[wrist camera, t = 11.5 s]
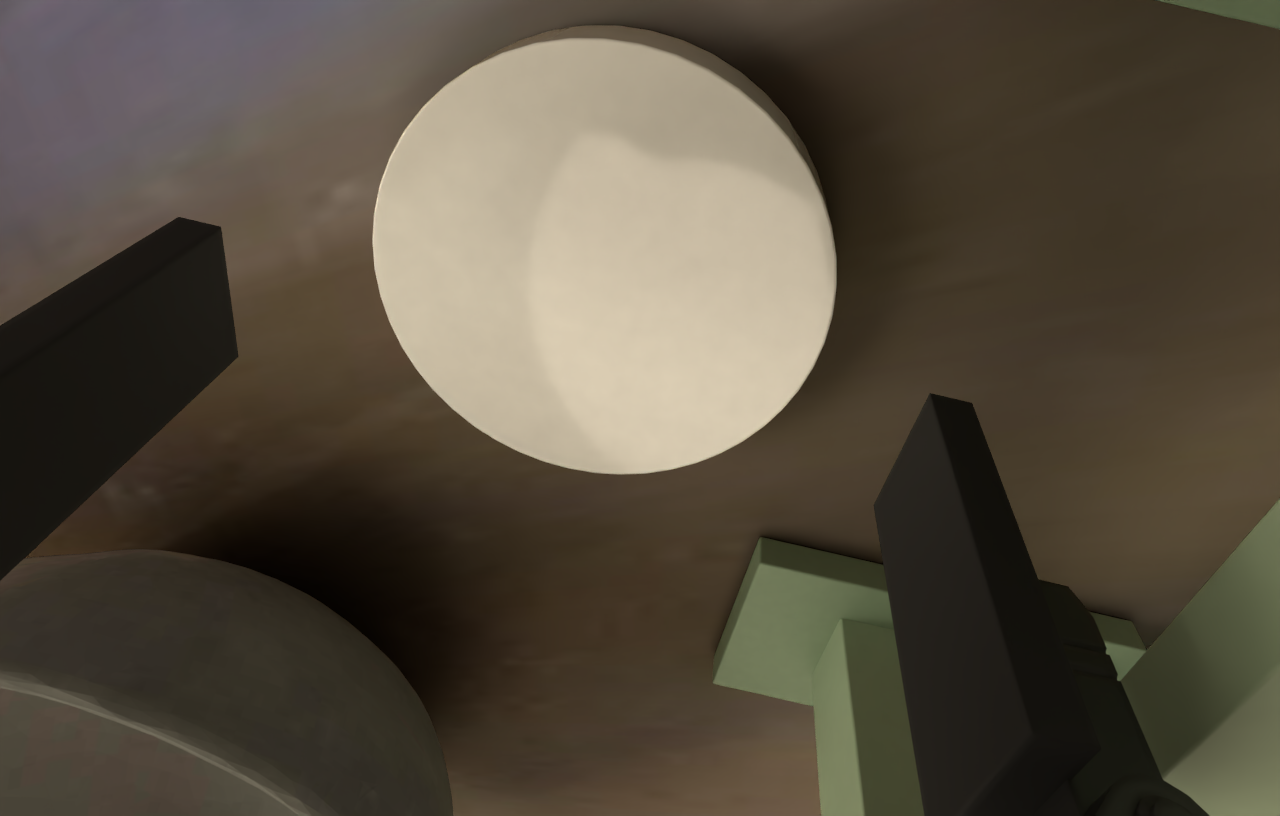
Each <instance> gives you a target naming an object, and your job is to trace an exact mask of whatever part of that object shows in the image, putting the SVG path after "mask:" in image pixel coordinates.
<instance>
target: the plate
mask: <svg viewBox="0 0 1280 816" xmlns="http://www.w3.org/2000/svg"><path fill="white" fill-rule="evenodd" d="M372 242H373V254H374V266H375V273H376V277H377V282H378V287H379V291H380V296H381V299H382V302H383V305H384V308H385V310H386V313H387V316H388V319H389V322H390V324H391V326H392V328H393V330H394V332H395V334H396V336H397V338H398V340H399V342H400V344H401V346H402V348H403V349H404V351H405V352H406V354H407V356H408V357H409V359H410V360H411V362H412V363H413V365H414V366H415V368H416V369H417V371H418V372H419V373H420V374H421V376H422V377H423V378H424V379H425V380H426V382H427V383H428V384H429V385H430V387H431V388H432V389H433V390H434V391H435V392H436V393H437V394H438V395H439V396H440V397H441V398H442V399H443V400H444V401H445V402H446V403H447V404H448V405H449V406H450V407H451V408H452V409H453V410H454V411H456V412H457V413H458V414H459V415H461V416H462V417H463V418H464V419H466V420H467V421H468V422H469V423H471V424H472V425H473V426H475V427H476V428H478V429H479V430H481V431H482V432H484V433H485V434H487V435H489V436H490V437H492V438H493V439H495V440H497V441H499V442H500V443H502V444H504V445H506V446H508V447H510V448H512V449H514V450H516V451H518V452H520V453H523V454H526V455H528V456H531V457H533V458H536V459H538V460H541V461H544V462H547V463H551V464H554V465H558V466H562V467H565V468H569V469H575V470H581V471H587V472H593V473H605V474H646V473H653V472H659V471H666V470H672V469H676V468H680V467H684V466H687V465H691V464H695V463H698V462H700V461H703V460H706V459H708V458H711V457H713V456H716V455H718V454H721V453H723V452H724V451H726V450H728V449H730V448H732V447H734V446H736V445H738V444H739V443H741V442H743V441H744V440H746V439H747V438H749V437H750V436H752V435H753V434H754V433H756V432H757V431H759V430H760V429H761V428H763V427H764V426H765V425H766V424H767V423H768V422H770V421H771V420H772V419H773V418H774V417H775V416H776V415H777V414H778V413H779V412H781V411H782V410H783V409H784V407H785V406H786V405H787V404H788V403H789V401H790V400H791V399H792V398H793V397H794V395H795V394H796V393H797V392H798V391H799V389H800V388H801V386H802V385H803V383H804V382H805V380H806V379H807V377H808V375H809V374H810V372H811V371H812V369H813V367H814V366H815V363H816V361H817V359H818V357H819V355H820V352H821V350H822V348H823V346H824V343H825V341H826V338H827V334H828V331H829V327H830V324H831V320H832V317H833V312H834V304H835V297H836V290H837V256H836V249H835V243H834V236H833V230H832V224H831V220H830V215H829V211H828V206H827V202H826V198H825V195H824V192H823V188H822V185H821V182H820V179H819V175H818V172H817V170H816V168H815V166H814V164H813V162H812V159H811V157H810V155H809V153H808V151H807V149H806V147H805V144H804V143H803V141H802V140H801V138H800V137H799V135H798V134H797V132H796V131H795V129H794V128H793V126H792V125H791V123H790V122H789V120H788V118H787V117H786V116H785V115H784V114H783V113H782V111H781V110H780V109H779V108H778V107H777V106H776V105H775V104H774V102H773V101H772V100H771V99H770V98H769V97H768V96H767V94H766V93H765V92H763V91H762V90H761V89H760V88H759V87H758V86H756V85H755V84H754V83H753V82H752V81H751V80H749V79H748V78H747V77H746V76H745V75H744V74H743V73H741V72H740V71H738V70H737V69H735V68H734V67H732V66H731V65H729V64H728V63H726V62H724V61H723V60H721V59H720V58H718V57H717V56H715V55H714V54H712V53H709V52H707V51H705V50H703V49H701V48H699V47H696V46H694V45H692V44H690V43H688V42H686V41H683V40H681V39H677V38H674V37H671V36H667V35H664V34H661V33H657V32H654V31H651V30H644V29H638V28H631V27H624V26H617V25H584V26H577V27H570V28H563V29H556V30H551V31H548V32H544V33H541V34H538V35H534V36H531V37H528V38H524V39H522V40H519V41H517V42H515V43H513V44H511V45H509V46H507V47H505V48H503V49H501V50H499V51H496V52H494V53H493V54H491V55H490V56H488V57H487V58H485V59H484V60H482V61H480V62H479V63H477V64H476V65H474V66H473V67H471V68H470V69H468V70H467V71H465V72H464V73H462V74H461V75H460V76H458V77H457V78H455V79H454V80H452V81H451V82H449V83H448V84H446V85H445V86H444V87H443V88H442V89H441V90H440V91H439V92H438V93H437V94H436V95H434V96H433V97H432V98H431V99H430V100H429V101H428V102H427V103H426V104H425V105H424V106H423V107H422V108H421V109H420V111H419V112H418V113H417V115H416V116H415V117H414V119H413V120H412V121H411V122H410V124H409V125H408V126H407V128H406V129H405V130H404V132H403V134H402V135H401V137H400V139H399V141H398V143H397V145H396V146H395V148H394V150H393V152H392V154H391V155H390V158H389V160H388V163H387V166H386V169H385V171H384V174H383V177H382V180H381V182H380V186H379V191H378V196H377V200H376V205H375V210H374V223H373V240H372Z"/></svg>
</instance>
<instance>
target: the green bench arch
mask: <svg viewBox="0 0 1280 816" xmlns="http://www.w3.org/2000/svg"><path fill="white" fill-rule="evenodd" d="M1156 1H1160V2H1165V3H1169V4H1173V5H1178V6H1182V7H1186V8H1190V9H1195V10H1199V11H1203V12H1208V13H1212V14H1216V15H1221V16H1225V17H1229V18H1234V19H1238V20H1242V21H1247V22H1251V23H1255V24H1259V25H1264V26H1268V27H1272V28H1277V29H1280V0H1156ZM1090 614H1091V615H1092V616H1093V617H1094V620H1095V622H1096V624H1097V627H1098V629H1099V631H1100V634H1101V636H1102V638H1103V641H1104V643H1105V645H1106V648H1107V650H1106V654H1107V655H1110V657H1111V659H1112V662H1113V664H1114V666H1115V669H1116V671H1117V673H1118V676H1117V681H1121V683H1122V685H1123V687H1124V690H1125V692H1126V694H1127V697H1128V699H1129V701H1130V704H1131V706H1132V708H1133V711H1134V713H1135V715H1136V718H1137V720H1138V722H1139V725H1140V727H1141V729H1142V732H1143V734H1144V736H1145V739H1146V741H1147V743H1148V746H1149V748H1150V750H1151V753H1152V755H1153V757H1154V760H1155V762H1156V764H1157V767H1158V769H1159V771H1160V774H1161V776H1162V778H1163V780H1164V781H1166V782H1167V783H1169V784H1171V785H1172V786H1174V787H1175V788H1177V789H1179V790H1180V791H1182V792H1184V793H1185V794H1187V795H1188V796H1189V797H1190V798H1192V799H1193V800H1194V801H1195V802H1196V803H1197V804H1198V805H1199V806H1200V807H1201V808H1202V809H1203V810H1204V811H1205V812H1206V813H1208V814H1209V815H1210V816H1280V499H1279V500H1278V501H1277V502H1276V503H1275V504H1274V506H1273V507H1272V508H1271V509H1270V510H1269V511H1268V512H1267V514H1266V515H1265V516H1264V517H1263V518H1262V519H1261V520H1260V522H1259V523H1258V524H1257V525H1256V526H1255V527H1254V528H1253V530H1252V531H1251V532H1250V533H1249V534H1248V535H1247V536H1246V538H1245V539H1244V540H1243V541H1242V542H1241V543H1240V544H1239V546H1238V547H1237V548H1236V549H1235V550H1234V551H1233V552H1232V554H1231V555H1230V556H1229V557H1228V558H1227V559H1226V561H1225V562H1224V563H1223V564H1222V565H1221V566H1220V567H1219V569H1218V570H1217V571H1216V572H1215V573H1214V574H1213V575H1212V577H1211V578H1210V579H1209V580H1208V581H1207V582H1206V583H1205V585H1204V586H1203V587H1202V588H1201V589H1200V590H1199V591H1198V593H1197V594H1196V595H1195V596H1194V597H1193V598H1192V599H1191V601H1190V602H1189V603H1188V604H1187V605H1186V606H1185V607H1184V609H1183V610H1182V611H1181V612H1180V613H1179V614H1178V615H1177V617H1176V618H1175V619H1174V620H1173V621H1172V622H1171V623H1170V625H1169V626H1168V627H1167V628H1166V629H1165V630H1164V631H1163V633H1162V634H1161V635H1160V636H1159V637H1158V638H1157V639H1156V641H1155V642H1154V643H1153V644H1152V645H1151V646H1150V648H1149V649H1148V650H1146V648H1145V646H1144V644H1143V642H1142V640H1141V638H1140V636H1139V634H1138V632H1137V630H1136V628H1135V626H1134V624H1133V623H1132V622H1131V621H1127V620H1123V619H1119V618H1114V617H1110V616H1105V615H1101V614H1097V613H1092V612H1090ZM713 683H714V684H717V685H721V686H726V687H730V688H734V689H739V690H743V691H748V692H752V693H757V694H761V695H765V696H770V697H774V698H779V699H783V700H787V701H792V702H796V703H801V704H805V705H809V706H814V719H815V734H816V748H817V762H818V777H819V791H820V805H821V816H924V810H923V804H922V798H921V792H920V785H919V779H918V773H917V767H916V761H915V755H914V749H913V743H912V737H911V730H910V724H909V718H908V712H907V706H906V700H905V694H904V688H903V681H902V675H901V669H900V663H899V657H898V651H897V645H896V639H895V632H894V626H893V620H892V614H891V608H890V602H889V596H888V590H887V584H886V577H885V571H884V565H882V564H877V563H873V562H869V561H864V560H860V559H855V558H851V557H847V556H842V555H838V554H833V553H829V552H825V551H820V550H816V549H811V548H807V547H803V546H798V545H794V544H790V543H785V542H781V541H776V540H772V539H768V538H763V537H760V538H759V540H758V543H757V545H756V548H755V550H754V553H753V556H752V558H751V561H750V563H749V566H748V569H747V571H746V574H745V577H744V579H743V582H742V584H741V587H740V590H739V592H738V595H737V597H736V600H735V603H734V605H733V608H732V610H731V613H730V616H729V618H728V621H727V624H726V626H725V629H724V631H723V634H722V637H721V639H720V642H719V644H718V647H717V650H716V652H715V655H714V664H713Z"/></svg>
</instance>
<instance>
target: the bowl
mask: <svg viewBox="0 0 1280 816" xmlns="http://www.w3.org/2000/svg"><path fill="white" fill-rule="evenodd" d="M0 816H453V806H452V796H451V790H450V784H449V778H448V773H447V769H446V764H445V760H444V756H443V752H442V749H441V746H440V743H439V740H438V737H437V735H436V732H435V729H434V727H433V724H432V722H431V720H430V717H429V715H428V713H427V711H426V709H425V707H424V705H423V704H422V702H421V700H420V698H419V696H418V695H417V693H416V692H415V691H414V689H413V688H412V686H411V685H410V684H409V682H408V681H407V680H406V678H405V677H404V676H403V674H402V673H401V671H400V670H399V669H398V667H397V666H396V665H395V664H394V663H393V662H392V661H391V660H390V659H389V658H388V657H387V656H386V655H385V654H384V653H383V652H382V651H381V650H380V649H379V648H378V647H377V646H376V645H374V644H373V643H372V642H371V641H370V640H369V639H368V638H367V637H366V636H364V635H363V634H362V633H361V632H360V631H359V630H357V629H356V628H355V627H354V626H353V625H351V624H350V623H349V622H348V621H347V620H345V619H344V618H342V617H341V616H339V615H338V614H337V613H335V612H334V611H332V610H331V609H330V608H328V607H327V606H325V605H324V604H323V603H321V602H320V601H318V600H316V599H314V598H313V597H311V596H309V595H308V594H306V593H304V592H302V591H300V590H298V589H296V588H294V587H292V586H290V585H288V584H286V583H283V582H281V581H279V580H277V579H275V578H272V577H270V576H267V575H264V574H262V573H259V572H256V571H254V570H251V569H249V568H245V567H242V566H238V565H235V564H231V563H228V562H224V561H220V560H216V559H209V558H204V557H199V556H195V555H190V554H184V553H177V552H171V551H164V550H148V549H131V550H115V551H106V552H97V553H87V554H72V555H54V556H43V557H34V558H24V559H23V560H22V561H21V562H20V563H19V564H18V565H17V566H16V567H14V568H13V569H12V570H11V571H10V572H9V573H8V574H7V575H6V576H5V577H4V578H3V579H2V580H1V581H0Z"/></svg>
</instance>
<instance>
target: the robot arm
mask: <svg viewBox="0 0 1280 816" xmlns="http://www.w3.org/2000/svg"><path fill="white" fill-rule="evenodd" d="M237 357H238V350H237V342H236V335H235V327H234V320H233V313H232V305H231V298H230V290H229V283H228V276H227V268H226V261H225V253H224V246H223V239H222V231H221V227H219V226H215V225H211V224H206V223H202V222H198V221H194V220H189V219H185V218H181V217H178V218H176V219H174V220H173V221H171V222H170V223H168V224H166V225H165V226H163V227H161V228H160V229H158V230H156V231H155V232H153V233H152V234H150V235H148V236H147V237H145V238H143V239H142V240H140V241H138V242H137V243H135V244H133V245H132V246H130V247H129V248H127V249H125V250H124V251H122V252H120V253H119V254H117V255H115V256H114V257H112V258H111V259H109V260H107V261H106V262H104V263H102V264H101V265H99V266H97V267H96V268H94V269H93V270H91V271H89V272H88V273H86V274H84V275H83V276H81V277H79V278H78V279H76V280H74V281H73V282H71V283H70V284H68V285H66V286H65V287H63V288H61V289H60V290H58V291H56V292H55V293H53V294H52V295H50V296H48V297H47V298H45V299H43V300H42V301H40V302H38V303H37V304H35V305H33V306H32V307H30V308H29V309H27V310H25V311H24V312H22V313H20V314H19V315H17V316H15V317H14V318H12V319H11V320H9V321H7V322H6V323H4V324H2V325H1V326H0V581H1V580H2V579H3V578H4V577H5V576H6V575H7V574H8V573H9V572H10V571H11V570H12V569H13V568H14V567H16V566H17V565H18V564H19V563H20V562H21V561H22V560H23V559H24V558H25V557H26V556H27V555H28V554H29V553H30V552H31V551H32V550H34V549H35V548H36V547H37V546H38V545H39V544H40V543H41V542H42V541H43V540H44V539H45V538H46V537H47V536H48V535H49V534H51V533H52V532H53V531H54V530H55V529H56V528H57V527H58V526H59V525H60V524H61V523H62V522H63V521H64V520H65V519H66V518H68V517H69V516H70V515H71V514H72V513H73V512H74V511H75V510H76V509H77V508H78V507H79V506H80V505H81V504H82V503H83V502H84V501H86V500H87V499H88V498H89V497H90V496H91V495H92V494H93V493H94V492H95V491H96V490H97V489H98V488H99V487H100V486H101V485H103V484H104V483H105V482H106V481H107V480H108V479H109V478H110V477H111V476H112V475H113V474H114V473H115V472H116V471H117V470H118V469H120V468H121V467H122V466H123V465H124V464H125V463H126V462H127V461H128V460H129V459H130V458H131V457H132V456H133V455H134V454H135V453H137V452H138V451H139V450H140V449H141V448H142V447H143V446H144V445H145V444H146V443H147V442H148V441H149V440H150V439H151V438H152V437H153V436H155V435H156V434H157V433H158V432H159V431H160V430H161V429H162V428H163V427H164V426H165V425H166V424H167V423H168V422H169V421H170V420H172V419H173V418H174V417H175V416H176V415H177V414H178V413H179V412H180V411H181V410H182V409H183V408H184V407H185V406H186V405H187V404H189V403H190V402H191V401H192V400H193V399H194V398H195V397H196V396H197V395H198V394H199V393H200V392H201V391H202V390H203V389H204V388H205V387H207V386H208V385H209V384H210V383H211V382H212V381H213V380H214V379H215V378H216V377H217V376H218V375H219V374H220V373H221V372H222V371H224V370H225V369H226V368H227V367H228V366H229V365H230V364H231V363H232V362H233V361H234V360H235V359H236V358H237ZM874 510H875V516H876V522H877V528H878V535H879V541H880V547H881V553H882V559H883V565H884V571H885V577H886V584H887V590H888V596H889V602H890V608H891V614H892V620H893V626H894V632H895V639H896V645H897V651H898V657H899V663H900V669H901V675H902V681H903V688H904V694H905V700H906V706H907V712H908V718H909V724H910V730H911V737H912V743H913V749H914V755H915V761H916V767H917V773H918V779H919V785H920V792H921V798H922V804H923V810H924V816H1210V815H1209V814H1208V813H1206V812H1205V811H1204V810H1203V809H1202V808H1201V807H1200V806H1199V805H1198V804H1197V803H1196V802H1195V801H1194V800H1193V799H1192V798H1190V797H1189V796H1188V795H1187V794H1185V793H1184V792H1182V791H1180V790H1179V789H1177V788H1175V787H1174V786H1172V785H1171V784H1169V783H1167V782H1166V781H1164V780H1163V778H1162V776H1161V774H1160V771H1159V769H1158V767H1157V764H1156V762H1155V760H1154V757H1153V755H1152V753H1151V750H1150V748H1149V746H1148V743H1147V741H1146V739H1145V736H1144V734H1143V732H1142V729H1141V727H1140V725H1139V722H1138V720H1137V718H1136V715H1135V713H1134V711H1133V708H1132V706H1131V704H1130V701H1129V699H1128V697H1127V694H1126V692H1125V690H1124V687H1123V685H1122V683H1121V681H1117V676H1118V673H1117V671H1116V669H1115V666H1114V664H1113V662H1112V659H1111V657H1110V655H1107V654H1106V650H1107V648H1106V645H1105V643H1104V641H1103V638H1102V636H1101V634H1100V631H1099V629H1098V627H1097V624H1096V622H1095V620H1094V617H1093V616H1092V615H1091V614H1090V612H1089V611H1088V610H1087V609H1086V608H1085V606H1084V605H1083V604H1082V603H1081V602H1080V600H1079V599H1078V598H1077V597H1076V596H1075V594H1074V593H1073V592H1072V591H1071V590H1070V588H1069V587H1068V586H1064V585H1059V584H1055V583H1051V582H1047V581H1042V580H1038V578H1037V575H1036V573H1035V570H1034V567H1033V565H1032V562H1031V559H1030V557H1029V554H1028V551H1027V549H1026V546H1025V543H1024V541H1023V538H1022V535H1021V532H1020V530H1019V527H1018V524H1017V522H1016V519H1015V516H1014V514H1013V511H1012V508H1011V506H1010V503H1009V500H1008V498H1007V495H1006V492H1005V490H1004V487H1003V484H1002V482H1001V479H1000V476H999V474H998V471H997V468H996V466H995V463H994V460H993V458H992V455H991V452H990V450H989V447H988V444H987V442H986V439H985V436H984V434H983V431H982V428H981V426H980V423H979V420H978V418H977V415H976V412H975V410H974V407H973V404H972V403H970V402H965V401H961V400H957V399H952V398H948V397H944V396H940V395H935V394H931V393H930V394H929V396H928V398H927V400H926V402H925V404H924V406H923V408H922V410H921V412H920V414H919V416H918V418H917V420H916V422H915V424H914V426H913V428H912V430H911V432H910V434H909V436H908V438H907V440H906V442H905V444H904V446H903V448H902V450H901V452H900V454H899V456H898V458H897V460H896V462H895V464H894V466H893V468H892V470H891V472H890V474H889V476H888V478H887V480H886V482H885V484H884V486H883V488H882V490H881V492H880V494H879V496H878V498H877V500H876V502H875V504H874Z"/></svg>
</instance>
